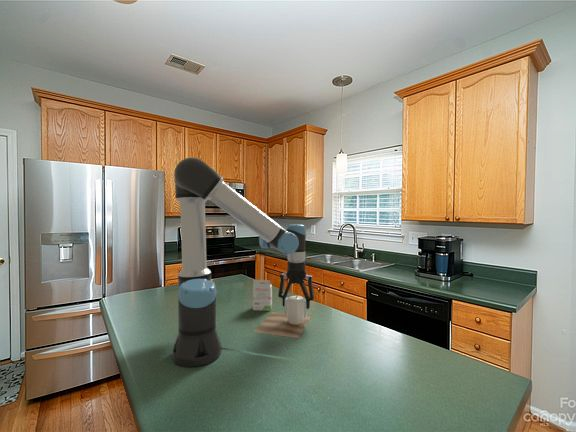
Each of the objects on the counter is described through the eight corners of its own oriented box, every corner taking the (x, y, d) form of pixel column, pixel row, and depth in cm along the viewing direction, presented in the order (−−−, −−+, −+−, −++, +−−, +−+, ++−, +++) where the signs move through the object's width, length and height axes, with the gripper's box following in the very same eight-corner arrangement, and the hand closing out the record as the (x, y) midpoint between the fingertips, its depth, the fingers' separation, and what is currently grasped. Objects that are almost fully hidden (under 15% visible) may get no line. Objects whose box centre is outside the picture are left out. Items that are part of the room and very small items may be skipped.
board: (298, 339, 103) (298, 324, 103) (253, 333, 108) (253, 318, 108) (310, 317, 124) (311, 305, 124) (272, 313, 129) (272, 301, 129)
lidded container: (301, 325, 115) (301, 300, 114) (286, 323, 116) (286, 298, 116) (305, 319, 121) (305, 295, 121) (290, 317, 123) (290, 294, 122)
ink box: (272, 308, 136) (272, 277, 135) (270, 312, 131) (270, 280, 130) (254, 307, 136) (254, 277, 136) (252, 311, 132) (252, 279, 131)
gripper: (322, 261, 119) (321, 314, 119) (276, 258, 125) (275, 309, 125) (319, 264, 112) (318, 321, 112) (270, 261, 117) (269, 315, 118)
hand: (295, 315), depth 119 cm, fingers open, 8 cm apart
